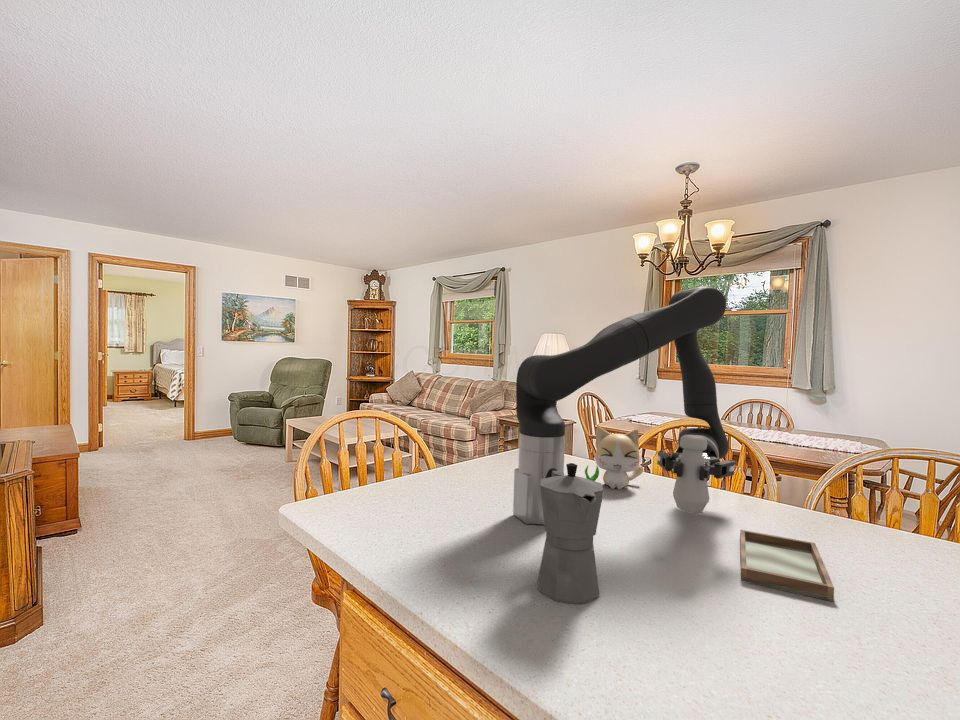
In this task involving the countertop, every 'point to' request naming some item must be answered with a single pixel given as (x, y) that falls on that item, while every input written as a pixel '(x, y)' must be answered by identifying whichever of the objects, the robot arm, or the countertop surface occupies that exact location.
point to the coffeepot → (569, 536)
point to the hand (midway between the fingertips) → (690, 472)
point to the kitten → (617, 457)
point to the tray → (784, 565)
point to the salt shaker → (691, 476)
